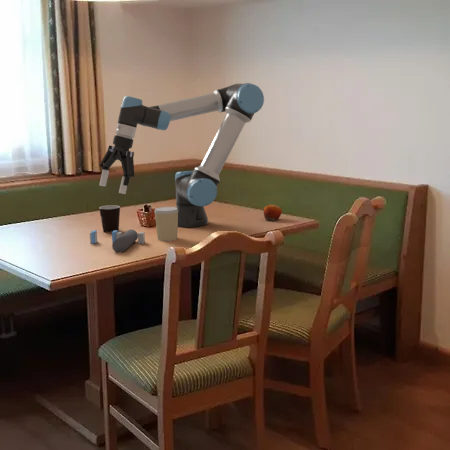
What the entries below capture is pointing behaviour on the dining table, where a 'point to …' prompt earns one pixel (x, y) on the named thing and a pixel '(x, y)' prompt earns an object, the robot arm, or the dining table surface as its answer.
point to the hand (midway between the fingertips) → (111, 189)
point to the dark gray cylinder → (125, 241)
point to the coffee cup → (166, 223)
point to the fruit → (272, 212)
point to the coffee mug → (110, 217)
